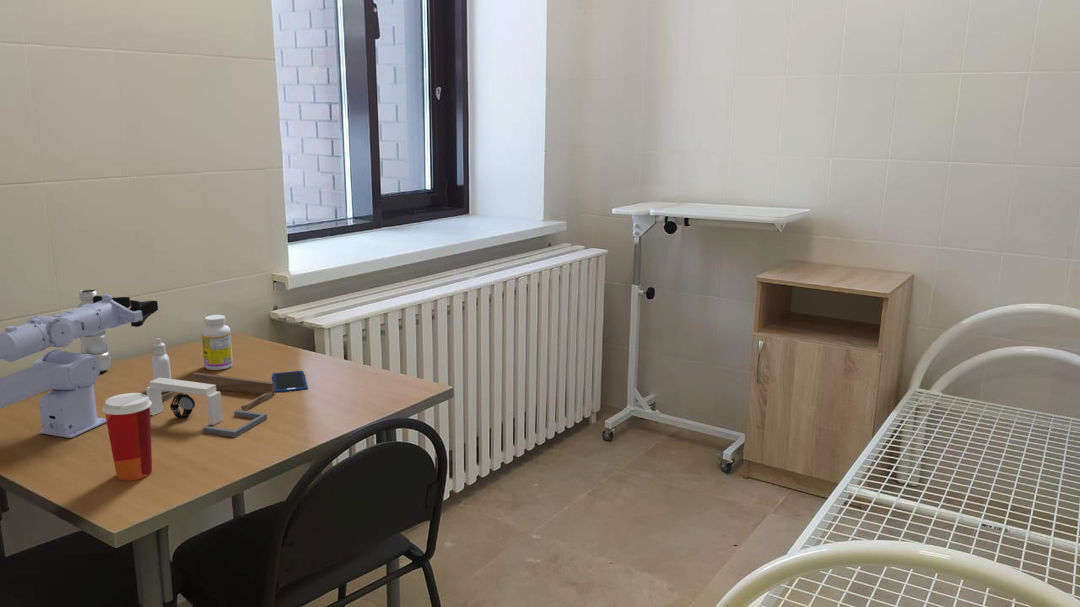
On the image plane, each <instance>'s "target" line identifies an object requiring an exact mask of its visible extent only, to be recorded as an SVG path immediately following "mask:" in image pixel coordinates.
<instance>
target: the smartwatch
mask: <svg viewBox="0 0 1080 607" xmlns="http://www.w3.org/2000/svg"><path fill="white" fill-rule="evenodd" d="M195 406H196V402H195V400H194V399H193V397H192V396H190V394H188V393H181V394H178V395H176V396H174V397H173V399H172V402H171V403H170V405H169V407H170V411H171V412H173V415H174V416H175V417H176V418H179V419H187V418H188V417H189V416H190V415H191V413H192V412H193V409H194V408H195ZM179 407H180V408H181V409H182V410H183V411H182V413H181V410H180V408H179Z"/></svg>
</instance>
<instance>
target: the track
mask: <svg viewBox="0 0 1080 607" xmlns="http://www.w3.org/2000/svg"><path fill="white" fill-rule="evenodd" d="M192 382H198V383H206V384H213V385H216V390H220V389H222V390H221V391H227V390H228V392H236V393H242V394H243V393H244V394H250V395H258V396H257V397H256V398H254V399H252V400H250V401H248V402H246V403H245V404H242V405H241V406H240V408H241V409H240V410H241V411H248V410H250V409H252V408H254V407H255V406H257V405H259V404H261V403H263V402H265V401H267V400H268V399H271V398H272V397H274V396H275V393H276V392H275V390H274V382H273V381H265V380H256V379H249V378H242V377H232V376H226V375H219V374H212V373H211V374H210V373H203V372H194V373H193V381H192ZM180 393H181V392H174V391H168V392H167V393H166V392H165V393H164V394H162V401H163V402H165V400H166V401H168V400H170V399H172V398H174V397H175V396H176V395H178V394H180ZM181 394H182V393H181ZM167 399H168V400H167Z"/></svg>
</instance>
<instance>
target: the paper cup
mask: <svg viewBox="0 0 1080 607" xmlns="http://www.w3.org/2000/svg"><path fill="white" fill-rule="evenodd" d="M151 405H152V402H151V401H150V400H149V398H148V396H147V394H144V393H141V392H129V393H123V394H122V393H121V394H116V395H114V396H110V397H108V398H107V399H106V400H105V401H104V404H103V407H102V409H101V410H102V411H101V412H102V413H103V414H104V416H105V419H106V425H107V426H106V427H107V432H108V437H109V441H110V442H109V443H110V448H111V454H112V459H113V463H114V469H115V474H116V478H117V479H118V480H120V481H122V482H124V481H125V482H132V481H133V482H134V481H137V480H138V481H139V480H141V479H144V478H146V477H149V476H150V475H152V471H153V458H152V457H153V456H152V429H151V428H152V427H151V423H152V422H151V416H150V406H151Z"/></svg>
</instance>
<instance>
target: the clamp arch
mask: <svg viewBox="0 0 1080 607" xmlns="http://www.w3.org/2000/svg"><path fill="white" fill-rule="evenodd" d="M145 389H146V390H145V391H146V396H148V398H149V400H150V401H151V402H152V405H151V406H150V415H154V416H156V415H155V414H157V415H159V414H160V412H161V413H163V412H164V406H163V405H164V404H163V402H162V395H163V394H162V392H161V390H167V391H168V392H171V391H174V392H181V394H188V395H195V396H196V395H197V396H202V397H206V404H207V416H208V425H209V426H215V425H217V424H218V423H220V422H222V421H223V419H224V418H223V417H224V416H223V408H222V407H223V406H222V393H221V391H219V390H218V391H217V389H216V385H213V384H206V383H198V382H193V381H189V380H183V379H182V380H181V379H175V378H171V379H168V378H157V379H155V380H154V379H152V380H150V381H149V386H147V387H145ZM162 411H163V412H162ZM158 413H159V414H158Z"/></svg>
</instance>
